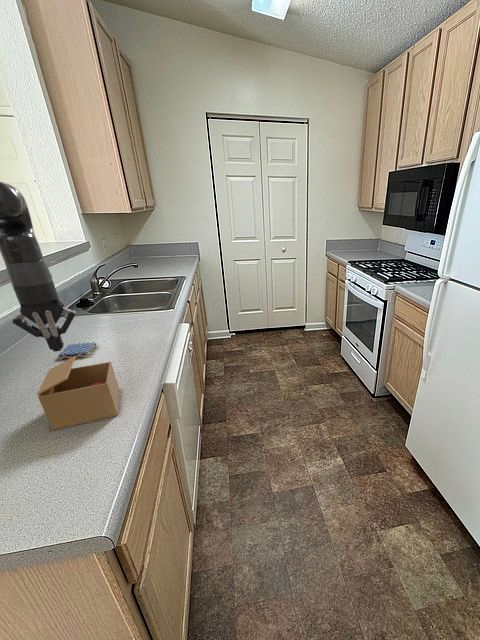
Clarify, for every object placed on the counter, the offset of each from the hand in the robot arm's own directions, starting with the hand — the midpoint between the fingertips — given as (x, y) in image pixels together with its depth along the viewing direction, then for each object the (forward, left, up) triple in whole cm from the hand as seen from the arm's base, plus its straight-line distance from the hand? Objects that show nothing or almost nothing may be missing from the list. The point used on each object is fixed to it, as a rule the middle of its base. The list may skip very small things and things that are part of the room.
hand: (58, 350), depth 83 cm
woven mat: (-6, +44, -18) cm, 48 cm away
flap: (-2, 0, -7) cm, 7 cm away
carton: (+2, 0, -18) cm, 18 cm away
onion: (+2, 0, -17) cm, 17 cm away
